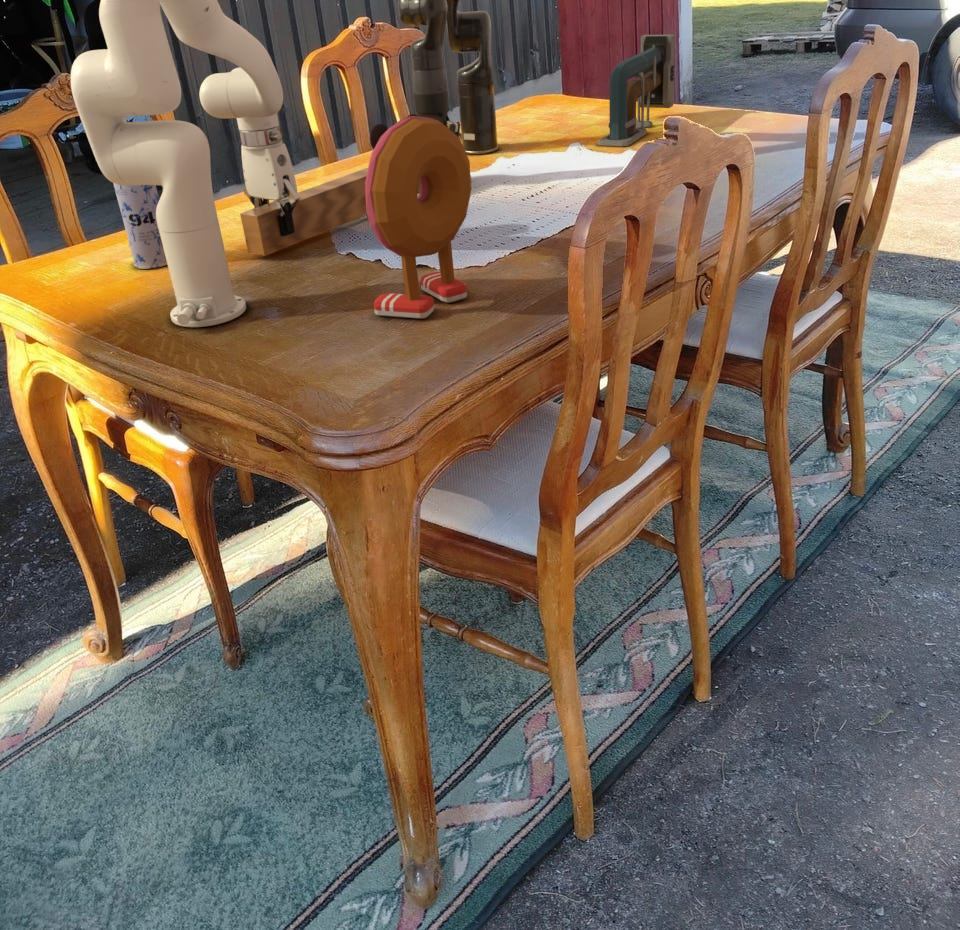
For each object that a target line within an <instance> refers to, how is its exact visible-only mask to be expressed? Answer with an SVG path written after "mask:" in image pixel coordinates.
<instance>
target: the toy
mask: <svg viewBox="0 0 960 930" xmlns="http://www.w3.org/2000/svg"><path fill="white" fill-rule="evenodd" d="M369 145H370V146H371V148H372V151H371V154H370V157H369V163H368V167H367V168H368V172H367V176H366V181H365V196H366V211H367V215H366V216H367V219H368V223H369V225H370V227H371V229H372V231H373V233H374V235H375V237H376V239H377V240H378V241H379V243H380V244H381V245H382V246H383V247H385V248H386V249H387V250H388V251H391V252H392V253H394V254H396V255H397V256H399V257H401V269H402V277H403V282H404V290H405V293H387V292H386V293H382V294H380V295H379V296H378V297H377V298H375V300H374V302H373V310H374V314H375V315H376V316H380V317H393V318H404V319H405V318H407V319H409V318H410V319H426V318H428V317H429V316H430V315H431V314H432V313H433V312H434V311H435V303H434V298H433V297H435V298H436V299H437V300H439V301H441V302H443V303H446V304H448V303H449V304H450V303H454V302H457V301H461V300H464V299H466V298H467V297H468V291H467V285H466V283H465V282H463V281H461V280H459V279H457V278H455V270H454V260H453V247H452V241H454V239H455V237H456V236H457V235H458V232H459V231H460V228H461V227H462V225H463V223H464V221H465V220H466V218H467V214H468V210H469V209H468V208H469V204H470V199H471V195H472V189H473V188H472V177H471V176H472V174H471V163H470V160H469V157H468V154H466V152H465V150H464V147H463V145H462V139H461V137H460V136H459V137H458V136H457V135H455V134H454V133H453V132H452V131H451V130H450V129H448V128H447V127H446V126H445V125H444V124H442V123H441V122H439V121H438V120H434V119H433V118H426V117H418V114H417V113H416V114H415V113H414V114H413V113H410V114H409V115H407V116H405V117H403V118H401V119H400V120H398V121H397V122H396V123H394V124H393V125H392V126H390V127H389V128H388V126H386V125H385V124H384V123H377V124H375V125H374V126H373V127H372V129H371V130H370V134H369ZM420 179H421V182H422V187H421V191H420V193H419V196H418V194H417V188H418V183H419V180H420ZM435 254H437V257H438V264H439V271H434V272H430V273H426V274H423V275H422V276H421V277H420V282H419V276H418V269H417V268H418V267H417V258H421V257H427V256H428V257H429V256H433V255H435ZM419 283H420V285H419ZM420 289H421V290H422V291H424V292H426V293H427V294H428V295H421V294H420V292H421V291H420ZM430 295H431V296H430Z"/></svg>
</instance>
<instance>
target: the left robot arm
mask: <svg viewBox="0 0 960 930" xmlns="http://www.w3.org/2000/svg"><path fill="white" fill-rule="evenodd" d="M161 9H162V12H163V13H164V15H165V16H166V18H167V20H168V23H169V24H170V26H171V28H172V30H173V32H174V34H175V36H176V38H177V39H178V40H179V41H181V42H182V43H183V44H185V45H186V46H189V47H191V48H193V49H196V50H198V51H201V52H204V53H207V54H209V55H212V56H216V57H218V58H221V59H224V60H227V61H228V62H230V63H232V64H234V65H236V66H237V67H235V68H234V69H232V70H231V71H229V72H218V73H217V72H216V73H212V74H210V75H208V76H206V78H205V79H204V80H203V81H202V83H201V84H200V88H199V94H198V95H199V101H200V102H199V103H200V104H201V106H202V108H203V110H204V111H205V112H206V113H207V114H208V115H210V116H211V117H214V118H216V119H236V123H237V127H238V132H239V137H240V143H241V162H242V163H241V164H242V172H243V178H244V184H245V186H244V189H243V193H244V195H245V196H247V199H249V201H250V203H251V204H252V205H253V206H254V208H257V207H259V206H262V205H265V204H268V203H270V201H275V203H276V206H277V209H278V211H279V214H280V216H278V222H279V227H280V233H281V236H287V235H289V234H292V233H294V232H295V229H294V223H293V217H292V213H293V212H294V207H295V206H296V204H297V203H298V201H299V200H300V197H299V195H298V194H297V193H298V187H297V180H296V177H295V172H294V171H295V170H294V169H293V168H294V166H293V163H292V161H291V157H290V154H289V150H288V148H287V146H286V144H285V143H283V140H282V139H283V135H282V133H281V126H280V121H279V115H278V113H279V112H280V110H282V107H283V104H284V89H283V87H282V83H281V79H280V76H279V75H278V72H277V70H276V67H275V65H274V63H273V60H272V58H271V55H270V53H269V52H268V51H267V49H266V48H265V47H264V45H263V44H262V42H260V41H259V40H258V38H256V37H255V36H254V35H252V34H251V33H250V32H249V31H248V30H247V29H246V28H244V27H243V26H241V25H240V24H238V23H237V22H236V21H235V20H233V19H231V18H230V17H228V16H227V15H226V14H225V13H224V12H223V10H222V8H221V5H220V3H219V1H218V0H100V2H99V8H98V17H99V24H100V27H101V31H102V33H103V37H104V40H105V44H106V49H105V48H103V49H93V50H88V51H84V52H82V53H81V54H79V55H78V56H77V57H76V58H75V59H74V61H73V63H72V65H71V69H70V89H71V94H72V98H73V101H74V104H75V108H76V111H77V113H78V115H79V118H80V121H81V124H82V126H83V129H84V132H85V134H86V137H87V140H88V143H89V145H90V148H91V151H92V153H93V156H94V158H95V162H96V163H97V166H98V167H99V169H100V172H101V174H102V175H103V176H104V177H105V178H106V179H107V180H108V181H109V182H111V183H115V184H118V185H156V186H161V187H162V193H161V195H160V196H159V202H158V205H157V208H156V220H157V225H158V229H159V232H160V236H161V240H162V244H163V248H164V252H165V256H166V260H167V269H168V273H169V276H170V280H171V284H172V289H173V293H174V295H175V300H176V301H175V302H176V304H177V305H176V306H174V307H173V308H172V310H171V311H170V313H169V315H170V316H169V317H170V320H171V322H172V323H173V324H174V325H176V326H179V327H182V328H183V327H184V328H205V327H213V326H217V325H221V324H224V323H228V322H230V321H233V320H235V319H237V318H238V317H240V316H241V315H243V314H244V313H245V311H246V310H247V303H246V300H245V299H244V298H243V297H241V296H239V295H236V294H235V292H234V291H235V290H234V287H233V281H232V278H231V273H230V268H229V264H228V260H227V255H226V249H225V245H224V241H223V240H224V239H223V236H222V232H221V226H220V223H219V222H220V221H219V217H218V213H217V212H218V211H217V207H216V202H215V198H214V191H213V184H212V183H213V182H212V170H211V169H212V168H211V167H212V166H211V149H210V144H209V141H208V138H207V135H206V133H204V131H203V130H202V129H201V128H200V127H199V126H197V125H195V124H194V123H191V122H188V121H184V120H177V119H167V120H166V119H164V120H146V121H128V120H127V118H128V117H148V116H159V115H160V116H161V115H166V114H169V113H171V112H174V111H176V110H177V108H179V106H180V104H181V102H182V87H181V82H180V79H179V74H178V71H177V67H176V64H175V60H174V57H173V54H172V50H171V47H170V44H169V40H168V37H167V33H166V30H165V25H164V22H163V18H162V13H161ZM126 117H127V118H126ZM282 201H284V202H285V205H284V207H283V205H282ZM254 208H253V209H254Z"/></svg>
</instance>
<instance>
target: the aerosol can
mask: <svg viewBox="0 0 960 930" xmlns="http://www.w3.org/2000/svg"><path fill="white" fill-rule="evenodd" d="M112 183H113V182H112ZM113 188H114V192H115V195H116V199H117V202H118V207H119V210H120V214H121V218H122V221H123V225H124V229H125V232H126V236H127V240H128V244H129V249H130V252H131V256H132V260H133V266H134V267H135V268H136V269H141V270H148V269H157V268H161V267H164V266H168V264H167V260H166V256H165V252H164V248H163V244H162V240H161V236H160V232H159V229H158V225H157V220H156V208H157V205H158V202H159V200H160V196H159V193H158V189H157V185H118V184H115V183H113Z"/></svg>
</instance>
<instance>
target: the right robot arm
mask: <svg viewBox="0 0 960 930" xmlns="http://www.w3.org/2000/svg"><path fill="white" fill-rule="evenodd" d="M459 4H460V0H398V2H397V12H398V13H397V14H398V17H399V19H400V21H401V22H402V23H403V24H404V26H407V27H413V28H414V27H426V32H425V35H424V37H423V36H422V37H419V38H416V39H414V40H412V42H411V43H410V59H411V67H412V68H411V70H412V91H413V100H414V108H415V109H414V111H415V113H416V114H417V116H418V117H426V118H433V119H434V120H438V121H439V122H441V123H442V124H444V125H445V126H446V127H447V128H448V129H450V130H451V131H452V132H453V133H454V134H455V135H457V136H458V137H459V138H460V139H461V143H462V145H463V147H464V150H465V152H466V154H467V155H483V154H490V153H493V152H496V151H498V149H499V145H498V132H497V114H496V99H495V98H496V97H495V85H494V84H495V83H494V70H493V67H494V66H493V47H492V43H493V42H492V41H493V40H492V39H493V38H492V36H493V35H492V33H493V31H492V21H491V20H492V19H491V17H490V14H489V13H488V12H487V11H485V10H476V11H459ZM445 30H446V36H447V43H448V46H449V48H450V50H451V51H452V53H455V54H456V53H457V54H464V53H465V54H467V53H468V54H469V53H478V56H477V58H476V59H475V60H474V61H472V62H471V63H470V64H468V65H466V66H463V67H460V68H459V69H458V70H457V71H456V86H457V97H458V109H459V121H456V122H454V121H452V120H451V119H450V117H449V115H448V112H449V109H450V106H449V105H450V103H449V94H448V93H449V92H448V83H447V81H448V80H447V75H446V71H445V60H444V49H443V47H444V38H445Z"/></svg>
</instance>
